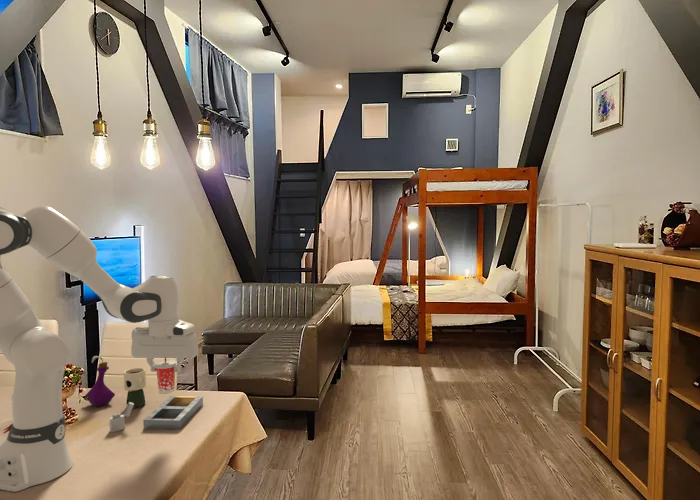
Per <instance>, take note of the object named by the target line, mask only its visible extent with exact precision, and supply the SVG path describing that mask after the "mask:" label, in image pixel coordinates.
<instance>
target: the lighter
mask: <svg viewBox="0 0 700 500" xmlns="http://www.w3.org/2000/svg"><path fill="white" fill-rule="evenodd" d="M133 406H134V403H131V402H129V403H128V404H127V406H126V407H125V410H124V413H123V414H121V412H117V413H114V414H113V415H112V416H111V417H109V431H110V433H115V432H118V431H121V430H125V429H126V421H125V420H126V419H125V418H126V417H127V418H129V417H130V414H131V412H132V410H133V409H134V408H133Z"/></svg>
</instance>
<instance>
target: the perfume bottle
mask: <svg viewBox="0 0 700 500" xmlns="http://www.w3.org/2000/svg"><path fill="white" fill-rule="evenodd" d="M96 359H100V360H101V362H100V363H99V364H98V367H97V368H96V371H97V372H98V375H97V379H96V381H95V382H94V385H93V386H92V387H91V388H90V390H89V391H88V392H87V393H86V394H85V395H84V397H85V396H86V397H88V399H89V401H88V402H89V403H90V404H91V405H92V406H94V407H96V408H100V407H102V406H105V405H106V406H107V405H108V404H110V403H111V401H112V400H113V398H114V397H115V395H116V394H115V392H113V391H112V390H111V389H110V388H109V387H108V386H107V385H106V384H105V382H104V378H105V375H106V372H107V371H108V370H109V369H110V368H109V366H108V362H107V361H103V358H102V357H101V356H99V355H94V356H93V357H92V359H91V363H92V364H93V363H94V361H95V360H96Z"/></svg>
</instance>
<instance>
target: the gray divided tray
mask: <svg viewBox="0 0 700 500" xmlns="http://www.w3.org/2000/svg"><path fill="white" fill-rule="evenodd" d="M203 405H204V397H203V396H199V395H198V396H197V395H196V396H193V395H189V396H188V395H185V396H184V395H183V396H182V395H181V396H180V395H179V396H178V395H169V397H168V398H167V399H165V400H164V401H163V402H162V403H161V404H159V406H158V407H156V408H155V409H154V410H152V411H151V412H150V413H149V414H148V415H147V416H146V417H145V418H144V419H143V420H142V423H143V425H142V426H143V429H144V430H181V429H182V428H183V427H184V426H185V425H186V424H187V423H188V422H189V421H190V419H191V418H192V417H193V416H194V415H195V414H196V413H197V412H198V410H200V409H201V407H203Z"/></svg>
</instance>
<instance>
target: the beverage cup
mask: <svg viewBox="0 0 700 500" xmlns="http://www.w3.org/2000/svg"><path fill="white" fill-rule="evenodd" d="M175 365H177V360H172V359H167V358H164V360H162V361H161V360H160V361H158V362H156V363H155V368H156V379H157V387H158V388H157V389H158V393H159V395H169V394H172V393H173V392H175V389H176V388H175V383H176V381H175V380H176V372H174V366H175Z"/></svg>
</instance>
